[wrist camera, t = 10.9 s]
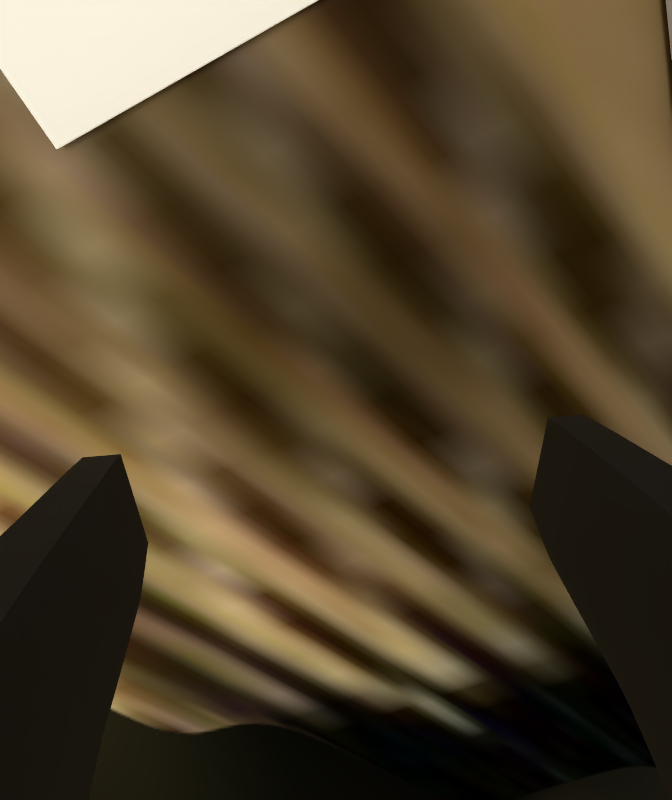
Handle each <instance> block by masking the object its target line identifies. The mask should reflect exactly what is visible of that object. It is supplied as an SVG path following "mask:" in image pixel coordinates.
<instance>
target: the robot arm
mask: <svg viewBox="0 0 672 800" xmlns="http://www.w3.org/2000/svg"><path fill="white" fill-rule="evenodd" d="M666 8H667V18H668V28H669V38H670V48H671V58H672V0H666ZM530 508H531V511H532V514H533V516H534V519H535V522H536V524H537V527H538V530H539V533H540V535H541V538H542V540H543V543H544V545H545V547H546V550H547V552H548V555H549V557H550V559H551V561H552V563H553V565H554V567H555V569H556V571H557V573H558V574H559V576H560V578H561V580H562V582H563V584H564V585H565V587H566V589H567V591H568V593H569V595H570V596H571V598H572V600H573V602H574V604H575V606H576V607H577V609H578V611H579V613H580V615H581V616H582V618H583V620H584V622H585V624H586V625H587V627H588V629H589V631H590V633H591V634H592V636H593V638H594V640H595V642H596V643H597V645H598V647H599V649H600V651H601V652H602V654H603V656H604V658H605V660H606V661H607V663H608V665H609V667H610V669H611V670H612V672H613V674H614V676H615V678H616V679H617V681H618V683H619V685H620V687H621V689H622V691H623V693H624V695H625V697H626V699H627V701H628V703H629V705H630V707H631V709H632V711H633V714H634V716H635V718H636V721H637V723H638V725H639V727H640V730H641V732H642V734H643V737H644V739H645V741H646V743H647V746H648V748H649V750H650V752H651V755H652V757H653V759H654V762H655V764H656V766H657V768H658V771H659V773H660V775H661V778H662V780H663V783H664V785H665V787H666V790H667V792H668V795H669V797H670V800H672V466H671V465H669V464H668V463H666V462H664V461H663V460H661V459H659V458H657V457H656V456H654V455H652V454H651V453H649V452H647V451H646V450H644V449H642V448H641V447H639V446H637V445H636V444H634V443H632V442H631V441H629V440H627V439H626V438H624V437H622V436H620V435H619V434H617V433H615V432H614V431H612V430H610V429H608V428H607V427H605V426H603V425H601V424H599V423H598V422H596V421H594V420H592V419H590V418H588V417H586V416H584V415H575V416H563V417H552V418H548V421H547V425H546V430H545V435H544V440H543V445H542V450H541V454H540V459H539V464H538V469H537V474H536V479H535V484H534V488H533V493H532V498H531V503H530ZM147 547H148V541H147V538H146V534H145V531H144V528H143V525H142V522H141V518H140V515H139V512H138V509H137V506H136V502H135V499H134V496H133V493H132V489H131V486H130V483H129V480H128V477H127V473H126V470H125V467H124V464H123V460H122V457H121V454H118V455H107V456H95V457H83V458H82V459H81V460H79V461H78V462H77V463H76V464H75V465H74V466H73V467H72V468H71V469H69V470H68V471H67V472H66V473H65V474H64V475H63V476H62V477H61V478H60V479H59V480H58V481H57V482H56V483H55V484H54V485H53V486H52V487H51V488H50V489H49V490H48V491H47V492H46V493H45V494H44V495H43V496H42V497H41V498H40V499H39V500H38V501H36V502H35V503H34V504H33V505H32V506H31V507H30V508H29V509H28V510H27V511H26V512H25V513H24V514H23V515H22V516H21V517H20V518H19V519H18V520H17V521H16V522H15V523H14V524H13V525H12V526H10V527H9V528H8V529H7V530H6V531H5V532H4V533H3V534H2V535H1V536H0V800H89V798H90V793H91V787H92V782H93V776H94V771H95V767H96V762H97V758H98V753H99V749H100V745H101V741H102V737H103V733H104V730H105V726H106V723H107V719H108V715H109V712H110V708H111V705H112V701H113V697H114V694H115V690H116V687H117V683H118V679H119V676H120V672H121V669H122V665H123V661H124V658H125V654H126V651H127V647H128V643H129V639H130V636H131V632H132V628H133V625H134V621H135V617H136V613H137V610H138V606H139V602H140V597H141V590H142V584H143V577H144V570H145V563H146V555H147Z"/></svg>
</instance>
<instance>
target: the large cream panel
mask: <svg viewBox="0 0 672 800" xmlns="http://www.w3.org/2000/svg"><path fill="white" fill-rule="evenodd" d="M317 1H318V0H0V69H1V70H2V72H3V73H4V75H5V76H6V77H7V79H8V80H9V82H10V83H11V85H12V86H13V87H14V89H15V90H16V92H17V93H18V95H19V96H20V97H21V99H22V100H23V102H24V103H25V105H26V106H27V108H28V109H29V110H30V112H31V113H32V115H33V116H34V118H35V119H36V120H37V122H38V123H39V125H40V126H41V128H42V129H43V131H44V132H45V133H46V135H47V136H48V138H49V139H50V141H51V142H52V143H53V145H54V146H55V148H56V149H59V148H61V147H63V146H65V145H67V144H68V143H70V142H72V141H74V140H75V139H77V138H79V137H81V136H82V135H84V134H86V133H88V132H89V131H91V130H93V129H95V128H96V127H98V126H100V125H102V124H103V123H105V122H107V121H108V120H110V119H112V118H114V117H115V116H117V115H119V114H121V113H122V112H124V111H126V110H128V109H129V108H131V107H133V106H135V105H136V104H138V103H140V102H142V101H143V100H145V99H147V98H149V97H150V96H152V95H154V94H156V93H157V92H159V91H161V90H163V89H164V88H166V87H168V86H170V85H171V84H173V83H175V82H177V81H178V80H180V79H182V78H184V77H185V76H187V75H189V74H191V73H192V72H194V71H196V70H198V69H199V68H201V67H203V66H205V65H206V64H208V63H210V62H212V61H213V60H215V59H217V58H219V57H220V56H222V55H224V54H226V53H227V52H229V51H231V50H233V49H234V48H236V47H238V46H240V45H241V44H243V43H245V42H247V41H248V40H250V39H252V38H254V37H255V36H257V35H259V34H261V33H262V32H264V31H266V30H268V29H269V28H271V27H273V26H275V25H276V24H278V23H280V22H282V21H283V20H285V19H287V18H289V17H290V16H292V15H294V14H296V13H297V12H299V11H301V10H303V9H304V8H306V7H308V6H310V5H311V4H313V3H315V2H317Z"/></svg>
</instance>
